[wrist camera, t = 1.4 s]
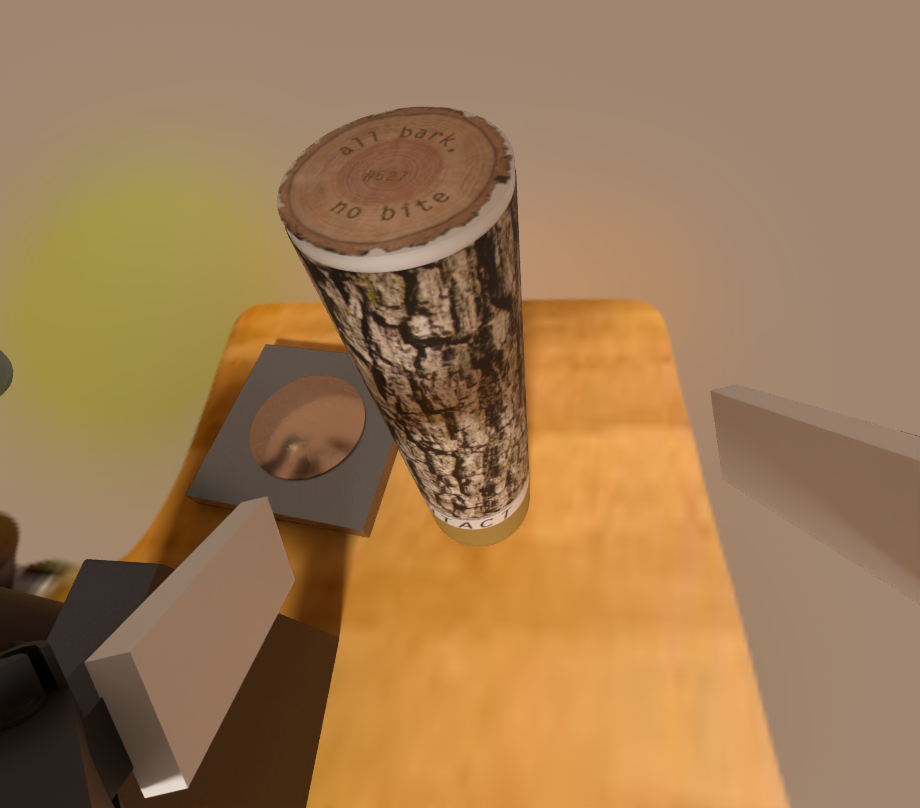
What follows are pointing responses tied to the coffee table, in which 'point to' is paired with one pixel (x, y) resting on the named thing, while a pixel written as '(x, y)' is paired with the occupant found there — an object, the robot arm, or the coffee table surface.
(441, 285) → the paper tube
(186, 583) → the robot arm
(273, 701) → the light fixture
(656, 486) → the coffee table surface
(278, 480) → the plate
